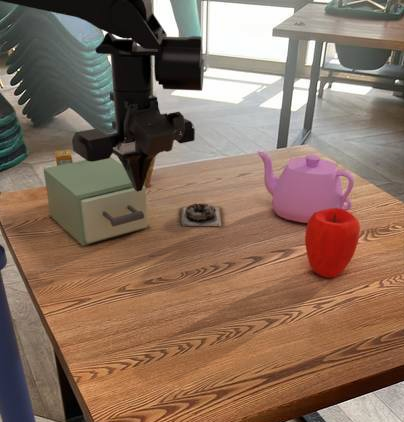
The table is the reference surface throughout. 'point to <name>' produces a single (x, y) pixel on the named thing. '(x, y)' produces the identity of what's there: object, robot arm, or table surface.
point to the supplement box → (63, 157)
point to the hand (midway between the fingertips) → (138, 190)
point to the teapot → (306, 187)
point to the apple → (331, 241)
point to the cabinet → (81, 190)
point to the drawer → (114, 213)
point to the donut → (201, 215)
